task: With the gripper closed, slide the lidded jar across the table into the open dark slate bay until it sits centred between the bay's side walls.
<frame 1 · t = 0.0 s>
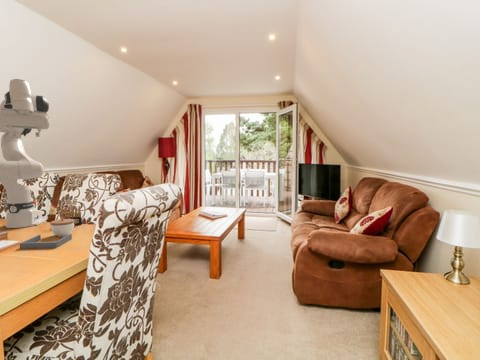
hand: (26, 135, 137), 52 cm above the table, tool tilted 20°, fingers open, 8 cm apart
lidded jar: (63, 235, 148), on the table
ammunition clip: (71, 225, 168), on the table
slate bay: (47, 243, 134), on the table
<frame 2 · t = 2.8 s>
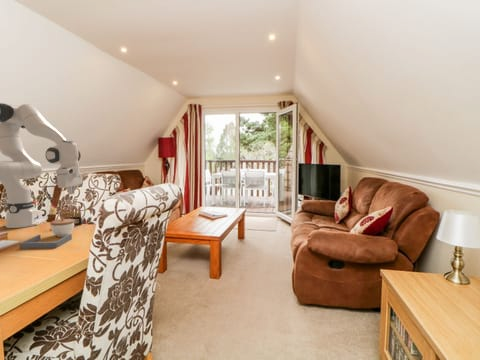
hand: (71, 194, 156), 21 cm above the table, tool pointing down, fingers closed
nothing on the table moved.
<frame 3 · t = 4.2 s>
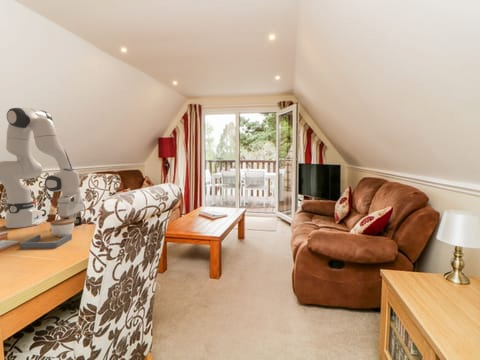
hand: (73, 221, 158), 5 cm above the table, tool pointing down, fingers closed
nothing on the table moved.
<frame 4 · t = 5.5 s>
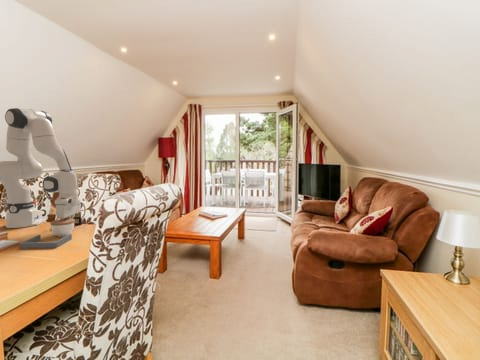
hand: (70, 223, 155), 5 cm above the table, tool pointing down, fingers closed
lidded jar: (63, 235, 148), on the table, touching gripper
everything else where it was.
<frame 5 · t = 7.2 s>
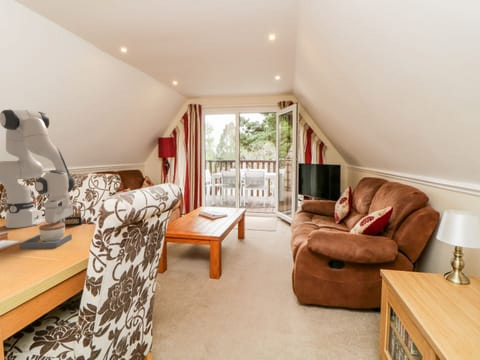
hand: (61, 227, 145), 5 cm above the table, tool pointing down, fingers closed
lidded jar: (53, 241, 138), on the table, touching gripper
everything else where it was.
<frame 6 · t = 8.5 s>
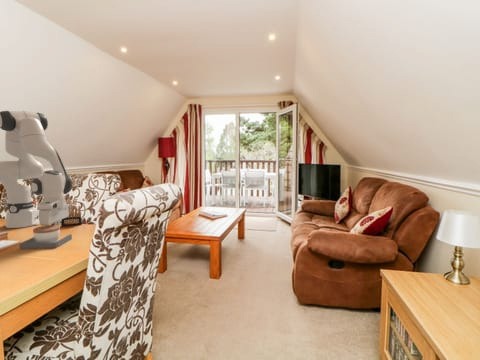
hand: (56, 229, 141), 5 cm above the table, tool pointing down, fingers closed
lidded jar: (47, 243, 134), on the table, touching gripper
everything else where it was.
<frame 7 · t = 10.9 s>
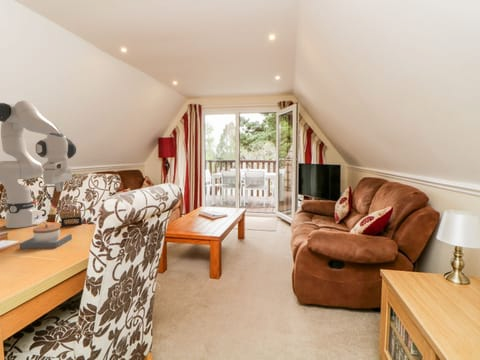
hand: (59, 191, 145), 24 cm above the table, tool pointing down, fingers closed
lidded jar: (47, 244, 134), on the table
everything else where it was.
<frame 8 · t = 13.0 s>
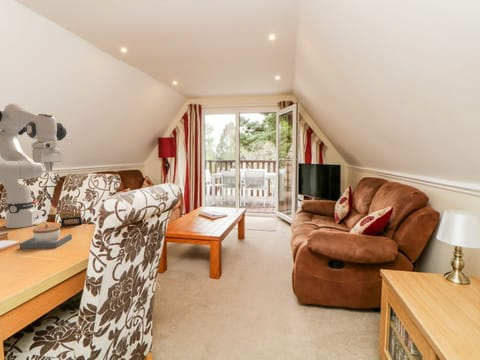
hand: (49, 170, 149), 34 cm above the table, tool pointing down, fingers closed
nothing on the table moved.
at the end: lidded jar inside the target area on the slate bay (0.3 cm from its centre), point 0.0 cm above the slate bay's base; lidded jar tilted 0°; lidded jar moved 14.2 cm from its start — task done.
